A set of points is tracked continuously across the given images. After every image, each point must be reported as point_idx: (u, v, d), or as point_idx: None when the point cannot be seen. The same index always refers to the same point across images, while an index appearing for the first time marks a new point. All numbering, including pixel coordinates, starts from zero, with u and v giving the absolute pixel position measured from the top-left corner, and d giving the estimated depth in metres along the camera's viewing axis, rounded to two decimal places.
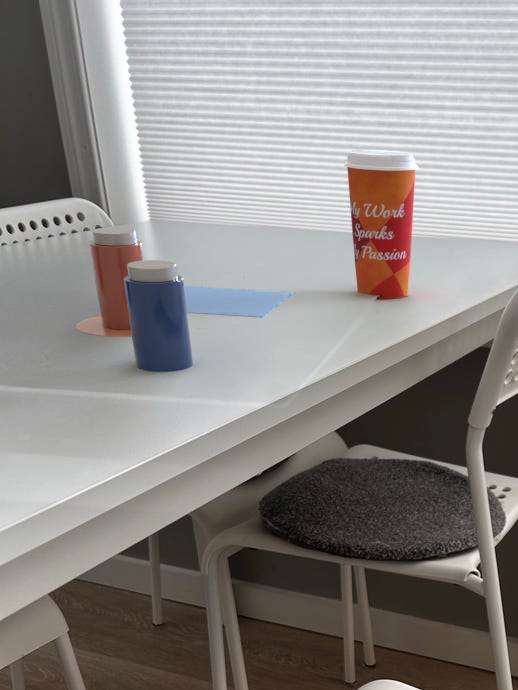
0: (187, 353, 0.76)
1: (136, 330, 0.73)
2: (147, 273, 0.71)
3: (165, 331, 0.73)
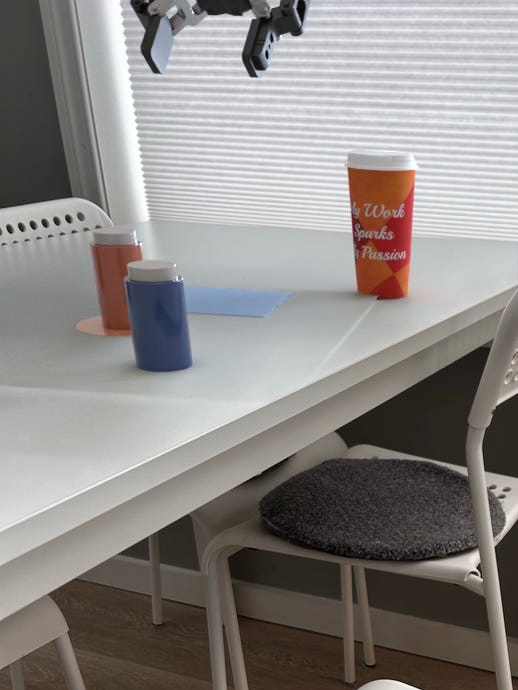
0: (187, 353, 0.76)
1: (136, 330, 0.73)
2: (147, 273, 0.71)
3: (165, 331, 0.73)
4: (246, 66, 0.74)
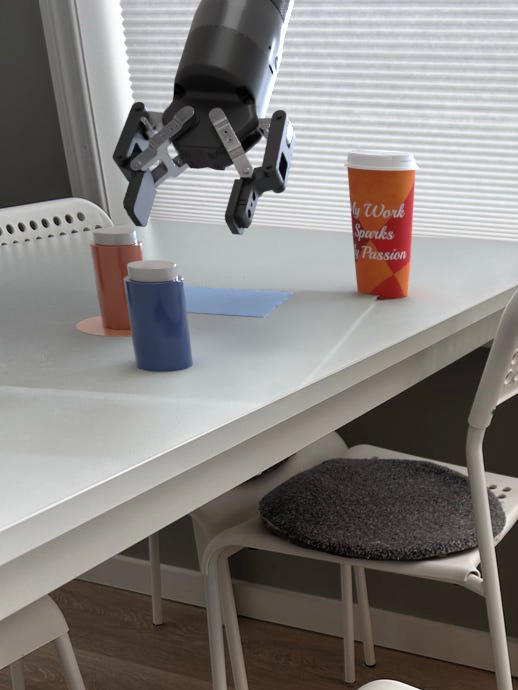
0: (187, 353, 0.76)
1: (136, 330, 0.73)
2: (147, 273, 0.71)
3: (165, 331, 0.73)
4: (229, 225, 0.75)
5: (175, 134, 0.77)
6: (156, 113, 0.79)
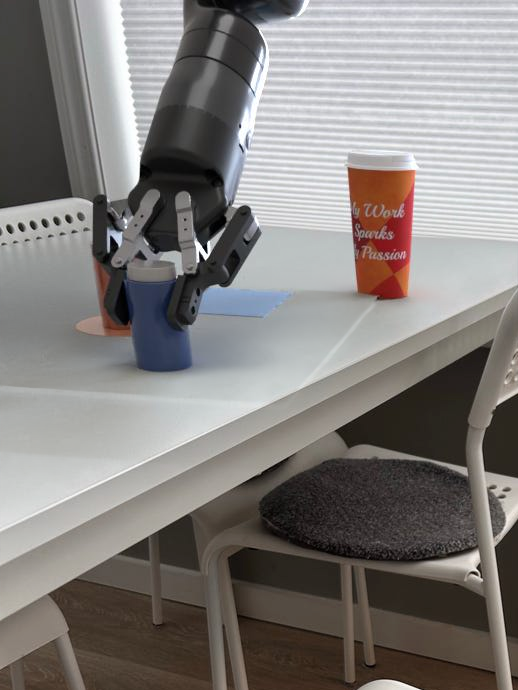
0: (187, 353, 0.76)
1: (136, 330, 0.73)
2: (147, 273, 0.71)
3: (165, 331, 0.73)
4: (171, 323, 0.72)
5: (148, 220, 0.73)
6: (119, 201, 0.76)
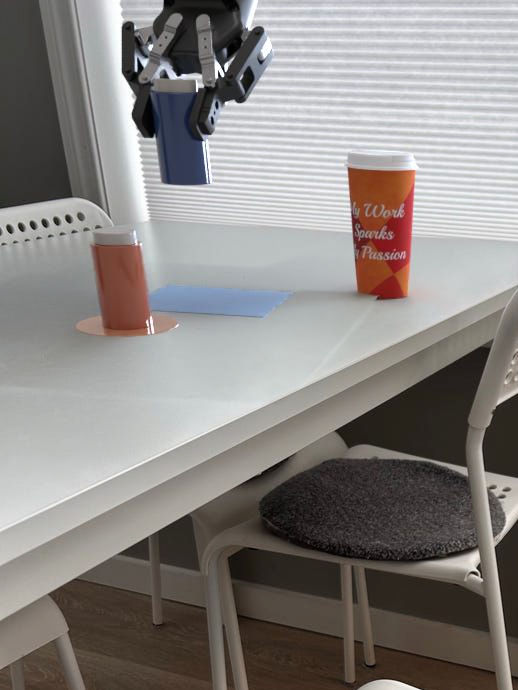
0: (207, 165, 0.83)
1: (161, 140, 0.81)
2: (171, 84, 0.79)
3: (187, 141, 0.81)
4: (193, 131, 0.80)
5: (171, 41, 0.81)
6: (145, 28, 0.84)
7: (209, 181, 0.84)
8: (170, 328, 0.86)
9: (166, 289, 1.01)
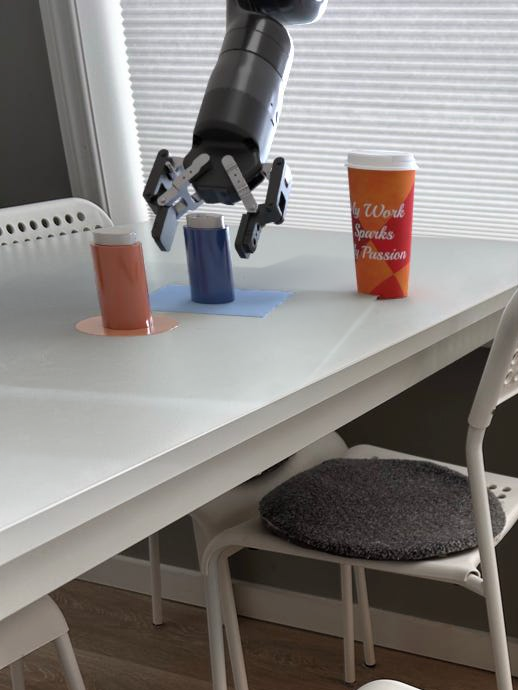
0: (231, 286, 0.96)
1: (192, 267, 0.94)
2: (202, 221, 0.92)
3: (215, 268, 0.94)
4: (238, 251, 0.93)
5: (194, 176, 0.94)
6: (178, 158, 0.96)
7: (233, 299, 0.97)
8: (170, 328, 0.86)
9: (166, 289, 1.01)
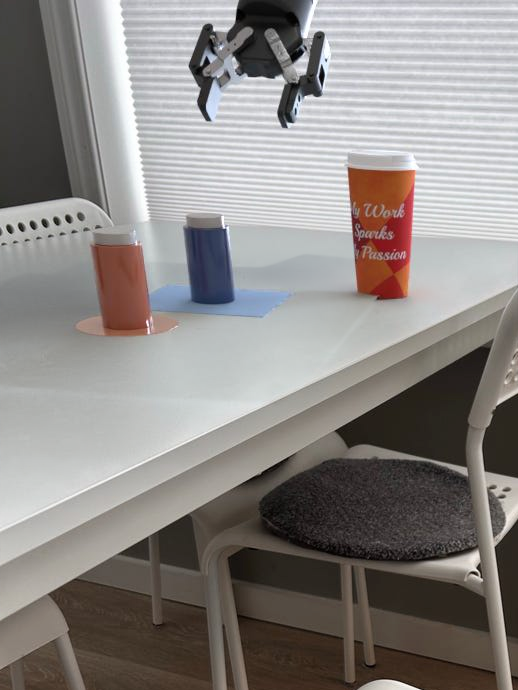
0: (231, 286, 0.96)
1: (192, 267, 0.94)
2: (202, 221, 0.92)
3: (215, 268, 0.94)
4: (280, 120, 0.98)
5: (238, 48, 0.99)
6: (221, 33, 1.01)
7: (233, 299, 0.97)
8: (170, 328, 0.86)
9: (166, 289, 1.01)
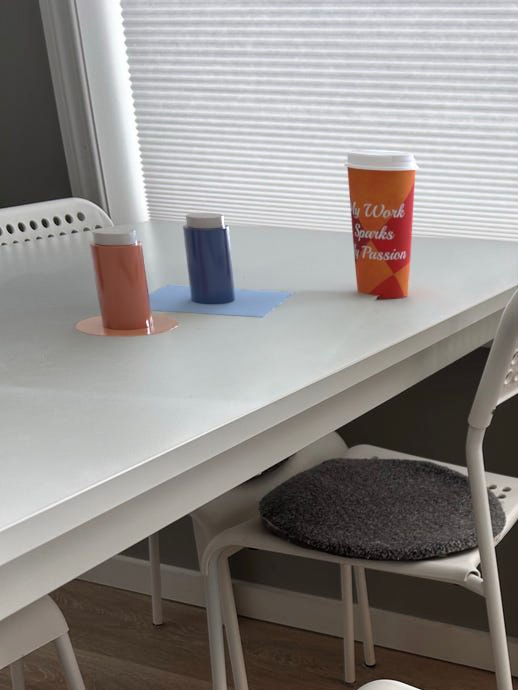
0: (231, 286, 0.96)
1: (192, 267, 0.94)
2: (202, 221, 0.92)
3: (215, 268, 0.94)
4: None
5: None
6: None
7: (233, 299, 0.97)
8: (170, 328, 0.86)
9: (166, 289, 1.01)
